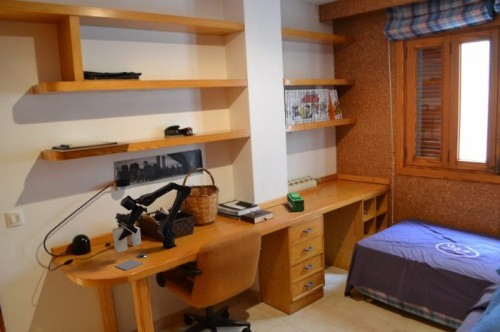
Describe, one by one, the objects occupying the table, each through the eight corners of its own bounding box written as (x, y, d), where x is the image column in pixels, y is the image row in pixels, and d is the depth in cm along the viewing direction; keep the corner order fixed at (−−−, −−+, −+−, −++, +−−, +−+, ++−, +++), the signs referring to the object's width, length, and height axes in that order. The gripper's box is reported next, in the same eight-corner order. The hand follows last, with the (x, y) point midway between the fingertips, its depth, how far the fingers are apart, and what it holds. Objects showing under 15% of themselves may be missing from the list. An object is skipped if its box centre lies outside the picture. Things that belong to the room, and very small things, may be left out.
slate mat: (131, 260, 222) (131, 259, 222) (142, 264, 215) (142, 263, 215) (115, 266, 214) (115, 265, 214) (126, 270, 208) (126, 269, 208)
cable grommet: (143, 253, 231) (143, 252, 231) (149, 255, 227) (149, 254, 227) (134, 256, 227) (134, 256, 227) (140, 258, 223) (140, 258, 223)
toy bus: (301, 202, 321) (300, 190, 320) (304, 211, 295) (304, 198, 293) (287, 203, 322) (286, 191, 320) (289, 212, 295) (288, 199, 294)
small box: (126, 244, 250) (124, 227, 248) (135, 241, 253) (133, 225, 252) (133, 246, 244) (131, 230, 242) (141, 244, 248) (139, 227, 246)
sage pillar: (124, 247, 226) (122, 226, 224) (128, 249, 222) (125, 228, 220) (114, 249, 223) (112, 229, 221) (118, 252, 218) (115, 231, 217)
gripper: (118, 204, 228) (100, 227, 224) (129, 210, 213) (110, 235, 209) (133, 214, 234) (116, 237, 229) (145, 221, 219) (127, 245, 214)
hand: (117, 238), depth 220 cm, fingers closed on sage pillar, 5 cm apart
